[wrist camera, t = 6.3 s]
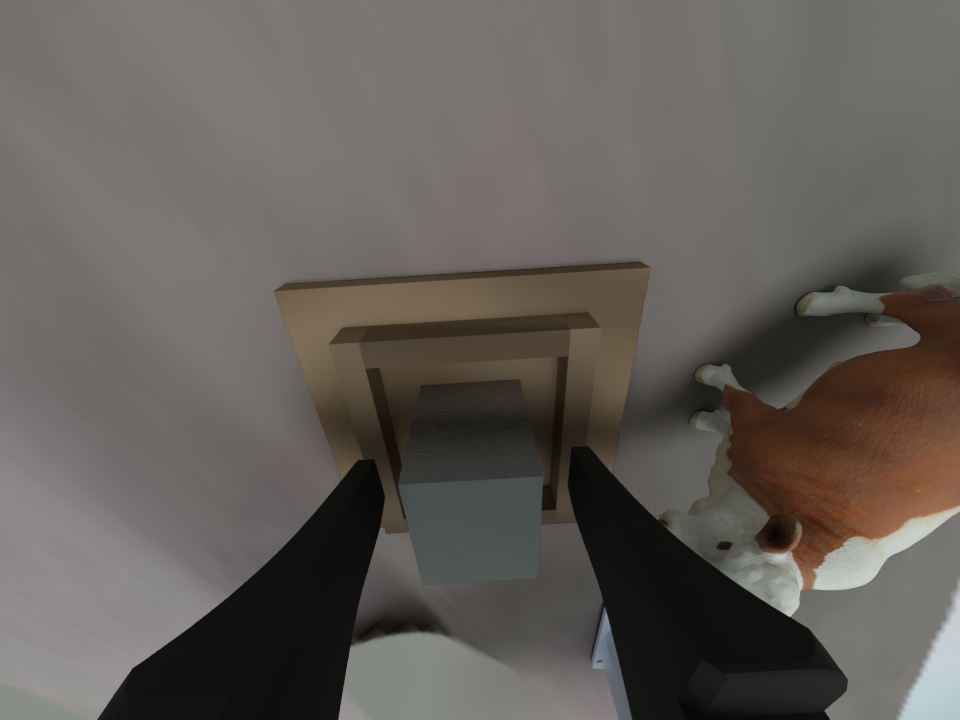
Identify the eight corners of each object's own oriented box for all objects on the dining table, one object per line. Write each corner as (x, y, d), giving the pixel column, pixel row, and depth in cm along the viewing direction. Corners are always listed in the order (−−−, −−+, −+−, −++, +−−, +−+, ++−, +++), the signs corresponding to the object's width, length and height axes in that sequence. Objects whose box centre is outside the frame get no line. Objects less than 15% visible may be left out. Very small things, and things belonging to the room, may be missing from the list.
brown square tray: (599, 501, 19) (614, 539, 17) (363, 515, 19) (351, 554, 17) (640, 262, 12) (671, 278, 10) (284, 284, 12) (250, 304, 10)
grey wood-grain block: (519, 468, 16) (538, 578, 12) (435, 472, 16) (422, 584, 12) (519, 379, 14) (543, 476, 9) (420, 384, 14) (397, 485, 9)
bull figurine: (586, 412, 16) (684, 612, 9) (922, 219, 12) (1603, 288, 5) (628, 464, 17) (738, 668, 10) (932, 311, 14) (1442, 463, 6)
